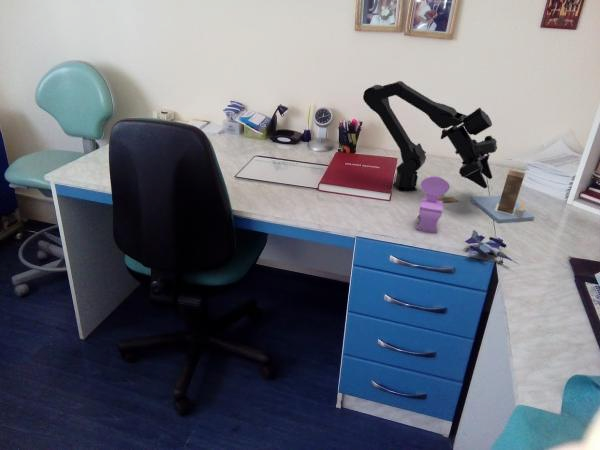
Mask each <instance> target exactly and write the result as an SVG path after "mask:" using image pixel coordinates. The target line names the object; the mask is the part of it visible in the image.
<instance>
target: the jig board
mask: <svg viewBox="0 0 600 450" xmlns="http://www.w3.org/2000/svg"><path fill="white" fill-rule="evenodd" d="M501 196H502V194H501V195H487V196H472V197H470V202H471V203H473V204H474V205H475V206H476V207H477V208H479V209H480V210H481V211H483V212H484V213H485V214H486V215H488V216H489V217H490V218H491V219H492V220H493V221H495V222H496V223H497V224H502V223H512V222H513V223H514V222H515V223H516V222H527V221H534V219H535V216H534V215H533V214H531V213H529V212H528V211H527V210H526V209H525V207H526V202H524V201H522V202H521V203H520V205H519V204H517V203H516V204H515V207H514V210H513V213H512V214H510V213H506V212H502V211H498V210H497V209H498V206H499V202H500V199H501Z"/></svg>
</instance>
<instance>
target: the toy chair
mask: <svg viewBox="0 0 600 450" xmlns="http://www.w3.org/2000/svg"><path fill="white" fill-rule="evenodd" d="M420 186H421V187H420V188H421V190H422V191H423V193H425V194H426V195H427V198H422V197H421V198H420V204H419V211H418V212H419V214H418V216H417V218H419V219H420V221H419V224H418V225H417V227H416V228H415V230H419V231H423V232H429V233H435V234H438V229H437V223H438V221H439V220H440V218H441V217H442V215H443V214H442V213H443V205H444V203H443V201H437V198H439V197H441V196H445V194H446V193H447V192H448V191H450V188H451V186H450V184H449V182H448V181H447V180H446V179H444V178H443V177H440V176H435V175H433V176H429V177H426V178H424V179H422V180H421V182H420Z"/></svg>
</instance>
